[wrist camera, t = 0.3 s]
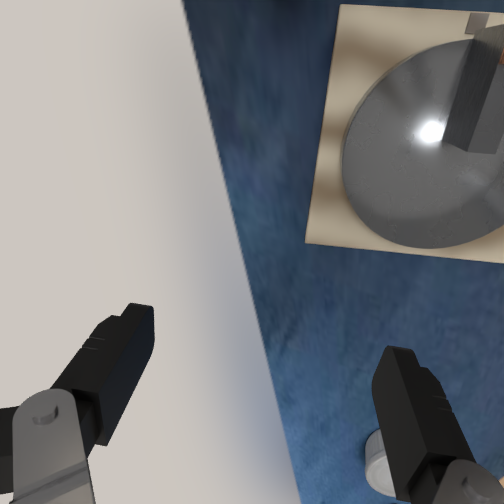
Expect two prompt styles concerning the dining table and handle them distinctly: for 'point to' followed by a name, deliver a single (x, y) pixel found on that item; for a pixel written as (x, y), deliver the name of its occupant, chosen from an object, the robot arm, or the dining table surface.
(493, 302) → the dining table surface
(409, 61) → the dial
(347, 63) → the base plate
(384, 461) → the ramekin
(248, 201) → the dining table surface
